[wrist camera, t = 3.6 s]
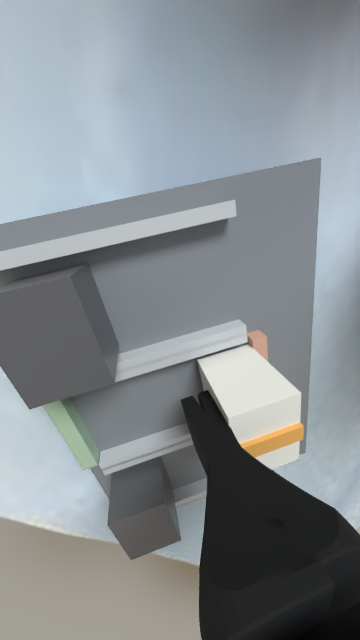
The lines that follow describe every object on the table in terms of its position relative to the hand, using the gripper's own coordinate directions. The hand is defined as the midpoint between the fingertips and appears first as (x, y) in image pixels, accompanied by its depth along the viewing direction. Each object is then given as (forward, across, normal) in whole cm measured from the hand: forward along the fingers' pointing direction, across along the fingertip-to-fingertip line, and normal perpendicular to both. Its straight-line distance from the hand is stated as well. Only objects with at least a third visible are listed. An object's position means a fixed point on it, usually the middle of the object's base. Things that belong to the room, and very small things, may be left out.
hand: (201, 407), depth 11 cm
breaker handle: (+1, -2, 0) cm, 2 cm away
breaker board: (+3, -1, 0) cm, 3 cm away
